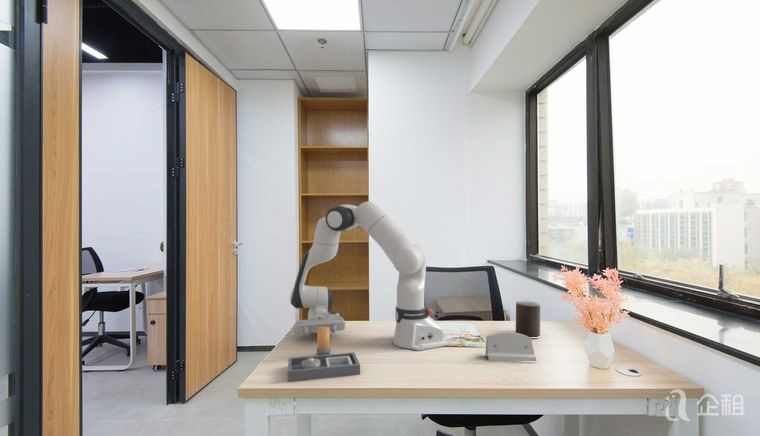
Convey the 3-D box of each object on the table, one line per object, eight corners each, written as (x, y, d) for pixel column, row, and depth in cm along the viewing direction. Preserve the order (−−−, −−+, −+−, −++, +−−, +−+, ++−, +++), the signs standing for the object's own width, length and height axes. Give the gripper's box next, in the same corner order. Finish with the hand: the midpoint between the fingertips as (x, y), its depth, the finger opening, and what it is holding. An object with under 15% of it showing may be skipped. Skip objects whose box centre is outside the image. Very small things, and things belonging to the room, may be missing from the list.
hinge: (487, 361, 120) (485, 330, 123) (485, 360, 124) (483, 331, 128) (537, 363, 118) (534, 332, 122) (533, 362, 123) (529, 332, 126)
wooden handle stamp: (329, 353, 127) (329, 325, 127) (330, 358, 122) (330, 329, 122) (316, 354, 126) (316, 326, 126) (317, 359, 121) (317, 330, 121)
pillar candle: (525, 339, 142) (525, 303, 142) (510, 332, 151) (511, 298, 152) (545, 338, 144) (545, 302, 144) (530, 331, 154) (530, 297, 154)
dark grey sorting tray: (354, 360, 119) (354, 348, 120) (360, 374, 109) (360, 361, 109) (288, 367, 114) (288, 354, 114) (287, 381, 103) (288, 367, 104)
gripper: (293, 315, 146) (293, 325, 132) (342, 312, 150) (347, 321, 137) (293, 330, 145) (293, 341, 132) (342, 327, 150) (346, 337, 137)
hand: (321, 331), depth 135 cm, fingers open, 8 cm apart
